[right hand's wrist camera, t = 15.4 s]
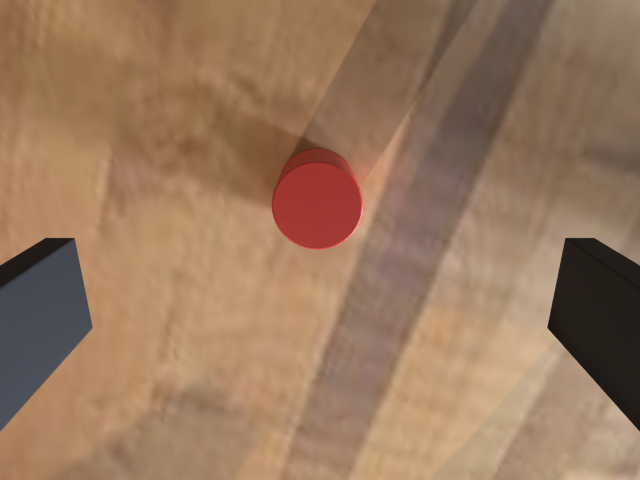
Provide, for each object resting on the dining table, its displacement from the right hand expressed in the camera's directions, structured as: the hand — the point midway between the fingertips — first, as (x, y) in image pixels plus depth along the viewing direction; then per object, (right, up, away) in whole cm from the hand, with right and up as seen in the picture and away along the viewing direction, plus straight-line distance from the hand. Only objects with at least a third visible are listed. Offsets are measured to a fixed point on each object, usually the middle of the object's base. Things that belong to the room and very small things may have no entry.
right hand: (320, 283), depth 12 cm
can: (0, +4, +13) cm, 13 cm away
